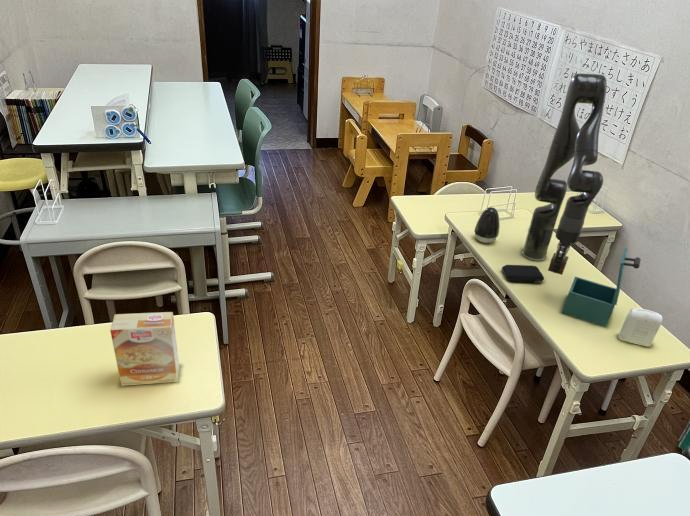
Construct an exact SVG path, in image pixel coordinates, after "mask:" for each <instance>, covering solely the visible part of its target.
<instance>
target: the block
mask: <svg viewBox="0 0 690 516" xmlns="http://www.w3.org/2000/svg"><path fill="white" fill-rule="evenodd" d="M555 254H556V252H553V255H552V258H551V259H550V262H549V265H548V268H547V271H548V272H551V273H553V272H552V269H553V266H554V263H553V262H554V260H555V257H556V256H555ZM568 260H569V256H567V255H566V257H565V259H563V261H562V265H561V266H560V269H559V272H558V273H556V274H557V275H561V276H562V275H563V274H564V271H565V269H566V266H567V263H568ZM558 261H560V260H558Z"/></svg>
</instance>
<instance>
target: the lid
mask: <svg viewBox="0 0 690 516" xmlns="http://www.w3.org/2000/svg"><path fill="white" fill-rule="evenodd" d="M627 251H628V247H624V248H623V252H622V257H621V260H620V265H619V270H618V277H617V283H616V294H615V300H614V305H615V306H617V304H618V300H619V295H620V292H621V288H622V287H621V286H622V280H623V275H624V269H625V267H633V269H635V270H637V269H639V268H640V267H641V258H640V257H634V258H633V257H627ZM626 261H628V262H626ZM631 262H633V263H631Z"/></svg>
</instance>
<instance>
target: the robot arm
mask: <svg viewBox="0 0 690 516" xmlns="http://www.w3.org/2000/svg"><path fill="white" fill-rule="evenodd" d="M607 83H608V82H607V78H606V76H605V75H603V74H597V73H574V75H573V76H572V77H571V79H570V81H569V84H568V88H567V90H566V95H565V99H564V103H563V106H562V111H561V114H560V118H559V121H558V124H557V126H556V130H555V132H554V135H553V138H552V140H551V144H550V147H549V152H548V154H547V158H546V161H545V164H544V167H543V169H542V172H541V174H540V176H539V179H538V181H537V184H536V187H535V191H534V199H535V200H536V201H538V202H541V203H548V204H546V205H542V206H537V207H536V208H534V210H533V213H532V216H531V220H530V223H529V227H528V231H527V233H526V234H527V235H526V238H525V241H524V245H523V249H522V251H521V254H522V256H523V257H524V258H526V259H528V260H531V261H535V262H537V261H538V262H539V261H540V262H541V261H544V260H545V259H546V257H547V254H548V250H549V246H550V244H551V240H552V236H553V234H554V230H555V227H556V223H557V220H558V217H559V214H560V211H561V209H562V205H563V202H564V200H565V197H566V194H567V190H568V189H569V190H570V191H571V192H575V193H580V194H578V195H577V194H576V195H572V196H569V197H568V199H566V203H565V206H564V209H563V212H562V215H561V217H560V219H559V223H558V225H557V229H556V232H555V239H557V240H558V241H559V242H558V243H557V246H556V251H555V253H556V254H555V256H556V257H555V260H554V262H553V263H554V266H553V269H552V272H551V273H554V274H557V273H558V272H559V269H560V266H561V265H562V261H563V259H565V257H566V256H567V255H568V252H569V251H570V248H571V246H572V245H573V244H576V243H578V241H579V239H580V236H581V233H582V230H583V228H584V224H585V219H586V216H587V213H588V210H589V207H590V206H591V204H592V202H593V201H594V199H595V198H596V197H597V196H598V194H599V192H600V191H601V189H602V188H603V184H604V175H603V174H602V173H601V171H597V170H587V169H586V170H584V169H583V167H586V166H591V165H594V164H596V163H597V162H598V157H599V136H600V129H601V124H602V117H603V113H604V107H605V101H606V95H607V89H608V88H607V86H608V84H607ZM577 104H584V105H585V104H589V105H591V111H590V114H589V116H588V118H587V119H586V120H585V122H584V123H583V124H582V126H581V127H580V126H579V124H578V120H577V117H576V113H575V112H576V106H577ZM572 160H573V161H572ZM571 161H572V165H571V169H570V172H569V174H568V177H567V181H566V180H564V179H558V178H552V177H553V176H554V174H556V172H557V171H558V170H560V169H561V168H562V167H564V166H565V165H567V164H568V163H569V162H571ZM558 260H560V261H558Z"/></svg>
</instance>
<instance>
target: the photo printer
mask: <svg viewBox="0 0 690 516" xmlns="http://www.w3.org/2000/svg"><path fill="white" fill-rule="evenodd" d="M663 320H664V319H663V316H662V315H661V313H658V312H656V311H653V310H650V309H646V308H630V309H629V311H628V313H627V315H626V317H625V320H624V321H623V324H622V325H621V328H620V331H619V333H618V335H617V336H618V339H619V340H620V341H623V342H626V343H630V344H635V345H639V346H644V347H651V345H652V343H653V342H654V339H655V338H656V335H657V333H658V331H659V330H660V327H661V325H662V323H663Z"/></svg>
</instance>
